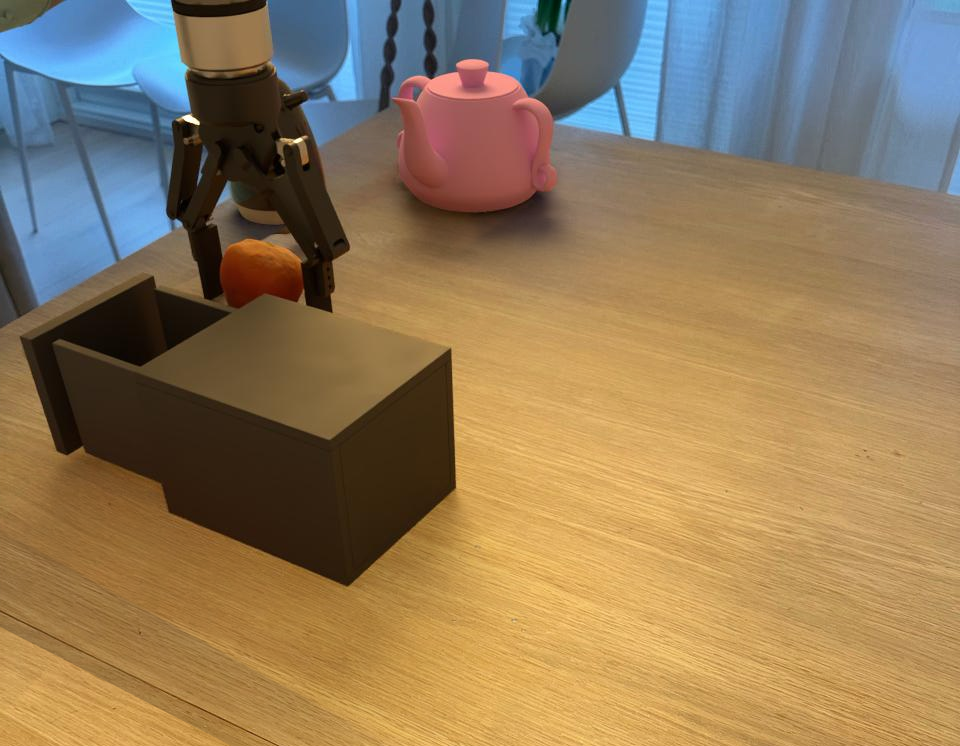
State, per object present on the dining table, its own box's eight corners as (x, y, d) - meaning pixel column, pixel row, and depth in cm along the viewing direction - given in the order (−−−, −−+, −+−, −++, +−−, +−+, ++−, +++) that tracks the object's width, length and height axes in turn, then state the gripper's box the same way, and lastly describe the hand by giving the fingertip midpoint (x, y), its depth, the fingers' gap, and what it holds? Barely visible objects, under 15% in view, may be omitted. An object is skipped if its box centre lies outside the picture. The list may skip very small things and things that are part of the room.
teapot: (327, 210, 122) (312, 76, 113) (443, 153, 135) (438, 29, 126) (486, 255, 113) (485, 114, 103) (595, 189, 126) (602, 58, 116)
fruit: (190, 311, 101) (208, 223, 99) (247, 323, 108) (265, 241, 106) (255, 333, 98) (275, 242, 96) (309, 344, 105) (329, 260, 103)
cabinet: (168, 512, 80) (132, 371, 73) (285, 427, 89) (265, 292, 81) (347, 587, 74) (329, 440, 66) (456, 488, 82) (451, 347, 74)
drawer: (18, 436, 87) (-22, 321, 80) (131, 369, 94) (103, 260, 88) (205, 512, 79) (177, 392, 72) (311, 432, 87) (296, 317, 80)
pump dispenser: (292, 252, 114) (271, 96, 104) (217, 232, 118) (190, 80, 108) (350, 219, 120) (336, 69, 110) (277, 201, 125) (257, 55, 114)
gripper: (377, 73, 87) (395, 324, 101) (153, 34, 97) (199, 268, 111) (318, 99, 82) (346, 358, 97) (89, 55, 92) (146, 296, 106)
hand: (268, 310), depth 104 cm, fingers open, 12 cm apart
